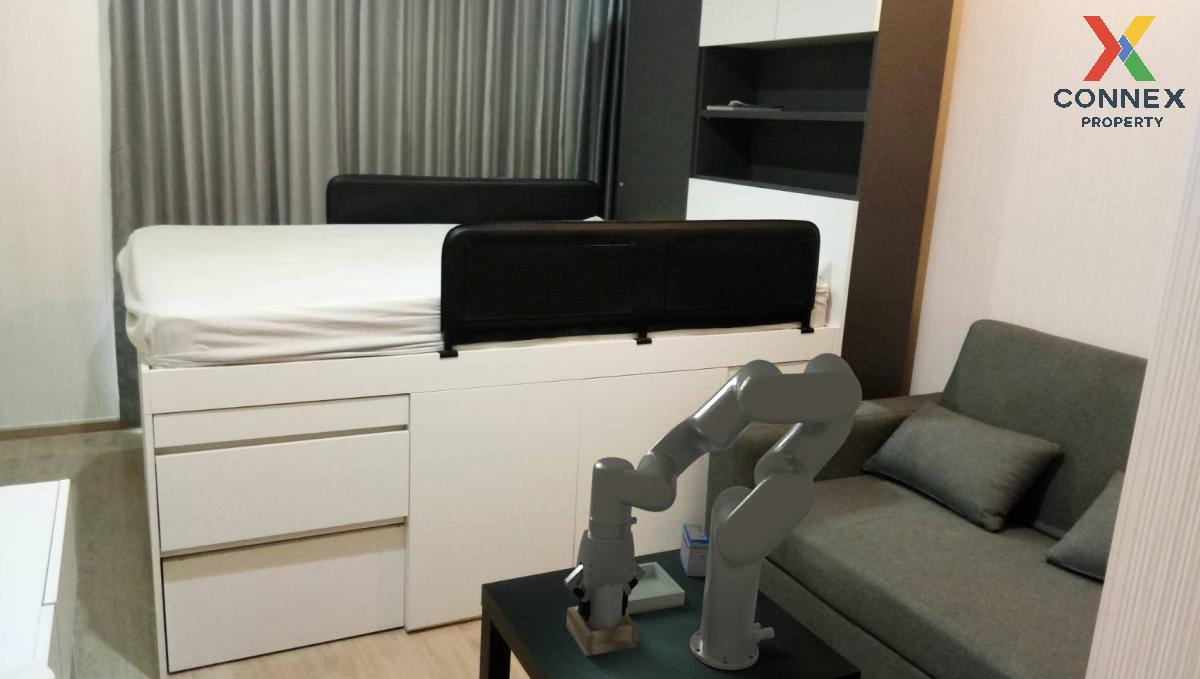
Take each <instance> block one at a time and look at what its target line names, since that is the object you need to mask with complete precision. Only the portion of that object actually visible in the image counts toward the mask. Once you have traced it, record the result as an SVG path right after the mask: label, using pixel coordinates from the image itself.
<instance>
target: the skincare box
mask: <svg viewBox="0 0 1200 679" xmlns="http://www.w3.org/2000/svg"><path fill="white" fill-rule="evenodd" d="M588 600H589V601H590V603H591V606H590V619H589V621H587V622H585V621H584V619H583V621H584V622H585V624H586V625H587V626H588V628H589V629H590V630H591V632H592V631H598V630H604V629H610V628H615V627H621V614H622V601H623V584H620V583H614V584H608V585H604V587H600V588H594V589H593V591H592V593H591V595H590V597H589V599H588Z"/></svg>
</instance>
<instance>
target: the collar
mask: <svg viewBox="0 0 1200 679" xmlns="http://www.w3.org/2000/svg"><path fill="white" fill-rule="evenodd" d="M566 612H567V613H566V624H565V627H566V629H567V630H568V631H569V633H570V634H571V636H572V638H573V639H574V641H575V642H576V643H577V645H578V646H579V648H580V649H581V651H582V653H583V654H584V655H585V656H586V657H589V656H594V655H595V656H596V655H601V654H605V653H606V654H607V653H610V652H617V651H621V650H628V649H633V648H636V647H637V646H638V637H639V626H638V625H637V624H636V623H635V622H634V620H633V618H631V616H630V615H628V614H627V613H626V615H623V616H622V615H621V627H615V628H610V629H604V630H598V631H592V632H591V630H590V629H589V628H588V626H587V625H586V624H585V622H584V621H583V618H582V616H580V615H579V613H578V605H577V606H570V607H567V610H566Z"/></svg>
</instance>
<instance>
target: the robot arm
mask: <svg viewBox="0 0 1200 679" xmlns="http://www.w3.org/2000/svg"><path fill="white" fill-rule="evenodd" d="M861 386H862V385H861V383H860V381H859V380H858V378H857V376H856V375H855V372H854V371H853V369H852V368H851V366H850V365H849V363H848V362H847V361H846V360H845V359H844V358H843V357H841V356H839V355H837V354H835V353H831V352H824V353H821V354H820V353H819V354H818V355H816V356H814V357H813V358H812V359H811V360H809V362H808V363H807V364H806V366H805V368H804V371H803V372H801V373H800V372H799V373H783V372H782V371H781V370H780V369H779V367H777V366H776V365H775V364H774V363H772V362H770V361H768V360H766V359H754V360H752V361H751V360H750V361H749V362H747V363H746V364H744V365H743V366H741V368H740V369H738V370H737V372H735V373H734V374H733V375H732V376H731V377H730V378H729V379H728V380H727V381H726V382H725V383H724V384H723V385H722V386H721V387H720V388H719V389H718V390H717V391H716V392H715V393H714V394H713V395H712V396H711V397H710V398H709V399H707V400H706V401H705V403H704V404H703V405H701V406H700V407H699V408H698V409H697V410H695V412H694V413H693V414H691V415H690V416H688V417H686V418H685V419H684V420H682V421H681V422H679V423H678V424H677V425H675V426H674V427H672V428H671V429H670V430H668V431H667V432H666V433H665V434H664V435H663V436H662V437H661V438H660V439H659V440H658V441H657V442H656V443H655V444H654V445H653V446H652V447H651V448H650V449H648V451H647V452H646V453H645V454H644V455H643V456H642V458H641V459H640V461H639V463H637V464H638V465H637V468H636V469H635V467H634V465H633V464H632V462H630V461H629V460H628V459H625V458H620V457H615V456H607V457H602V458H599V459H598V460H597V461H596V462H595V463H594V464H593V467H592V476H591V487H590V488H591V489H590V500H589V501H590V502H589V503H590V505H589V516H588V528H587V529H585V530H584V531H583V532H582V536H581V540H580V543H579V547H578V552H577V559H576V564H575V565H576V566H575V569H574V570H573V571H572V572H571V573H570V574H569V575H568V576H567V577H566V578H565V579H564V580H563V583H564V585H565V586H566V587H567V588H568V589H569V590H570V591H571V592H572V593H573V594H574V595H575V596H576V597H577V598H578V604H577V606H578V613H579V615H580V616H582V618H583V619H584V621H585V622H587V621H589V619H590V606H591V603H590V601H589V600H588V599H589V597H590V595H591V593H592V591H593V589H594V588H600V587H604V585H608V584H614V583H620V584H623V601H622V614H621V615H622V616H623V615H626V608H627V607H628V596H629V595H630V594H631V593H632V589H633V588H634V587H635V586H636V585H637V584H638V581H640V580H641V578H642V577H643V576H644V575H645V573H646V572H645V571H644V570H643V569H642V568H641V567H640V566H639V565H638V564H639V563H637V562H636V561H635V560H636V556H635V554H636V553H635V541H634V534H633V531H632V526H633V525H636V524H638V518H637V517H636V516H632V513H633V512H632V511H633V508H636V509H638V510H639V509H640V510H642V511H644V512H645V511H646V512H648V513H649V512H651V513H662V512H664V511H668V510H669V509H670V508H671V507H672V506H674V504H675V502H676V498H677V494H678V493H677V488H678V478H679V477H680V476H681V475H682V474H683V473H684V472H685V471H686V470H687V469H688V468H689V467H691V465H692V464H694V462H696V461H697V460H698V459H699V458H701V457H702V456H704V455H706V454H707V453H710V452H714V451H715V452H716V451H717V452H718V451H726V450H728V449H730V448H731V447H732V446H733V445H734V444H735V443H736V442H737V441H738V440H740V438H742V437H743V436H744V435H746V433H747V432H748V431H750V429H751V428H752V427H754V425H755V424H756V423H759V424H764V425H791V427H790V428H789V429H788V430H787V431H786V432H785V433H784V434H783V435H782V436H781V437H780V438H779V439H778V440H777V442H775V443H774V445H772V447H771V448H769V449H768V450H767V451H766V452H765V454H764V455H762V456H761V457H760V458H759V459H758V461H757V463H756V465H755V467H754V472H753V473H754V477H753V478H754V483H755V484H754V485H755V487H753V489H751V488H749V487H746V486H741V485H736V486H730V487H728V488H726V489H724V490H723V491H721V492H720V493H719V494H718V496H717V497H716V498H715V500H714V502H713V504H712V508H711V513H710V514H711V515H710V528H709V552H708V561H707V570H706V576H705V580H704V581H705V582H704V591H703V599H702V608H701V609H702V610H701V617H700V618H701V619H700V628H699V630H697V631H696V632H694V633H693V634H692V635H691V638H690V641H689V649H690V652H691V653H692V655H693V656H694V657H695V658H696V659H697V660H699V661H700V662H702V663H703V664H705V665H707V666H709V667H713V668H714V669H719V670H724V671H727V670H728V671H738V670H744V669H747V668H749V667H752V666H753V665H754V664H755V663H757V661H758V659H759V654H760V650H759V646H758V644H757V643H760V642H761V640H769V639H773V638H774V637H775V630H774V629H773V627H771V626H769V627H764V628H762V626H761V623H759V622H755V616H756V608H757V600H758V592H759V591H758V590H759V585H760V584H759V583H760V578H761V577H760V576H761V570H762V569H761V568H762V560H763V559H764V558H766V557H767V556H768V555H770V554H771V552H772V551H774V549H775V548H777V546H779V545H780V543H782V541H784V540H785V539H786V538H787V537H788V536H789V535H790V533H792V532H793V531H794V530H795V529H796V528H797V527H798V526H799V525H800V524H801V523H802V521H803V520H804V519H805V518H806V517H807V516H808V514H809V513H810V511H811V509H812V507H813V505H814V501H815V498H816V488H815V484H814V479H815V477H816V476H817V475H818V473H819V472H820V471H821V470H822V469H823V468H824V467H825V466H826V465H827V463H828V462H829V461H830V460H831V459H832V457H834V455H835V454H836V453H838V451H839V450H840V449H841V448H842V446H843V445H844V443H845V441H846V440H847V438H848V437H849V436H850V433H851V430H852V428H853V424H854V420H855V416H856V411H857V410H858V409H859V407H860V405H861V402H862V399H863V391H862V387H861ZM634 571H635V572H634ZM580 579H581V580H582V581H581V582H580V584H579V585H577V584H576V583H577V582H578V581H579V580H580Z"/></svg>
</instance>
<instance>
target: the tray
mask: <svg viewBox="0 0 1200 679" xmlns="http://www.w3.org/2000/svg"><path fill="white" fill-rule="evenodd" d="M637 564H638V565H639V566H640V567H641V568H642V569H643V570H644V571H645V572H646V573H645V575H644V576H643V577H642V578H641V580H640V581H638V584H637V585H636V586H635V587H634V588H633V589H632V593H631V594H630V595H629V596H628V607H627V608H626V613H627V614H628V615H629V616H630V615H635V614H641V613H646V612H653V611H659V610H664V609H671V608H676V607H682V606H684V605H685V597H686V596H685V595H686V591H685V590H684V589H683V588H682V587H681V586H680V585H679V584H678V582H676V581H675V579H673V577H672V576H670V575H669V574H668V573H667V571H666V570H665V569H664V568H663V567H662V566H660V564H659V563H658V562H657V561H653V562H646V563H637ZM634 572H635V571H634Z"/></svg>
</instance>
